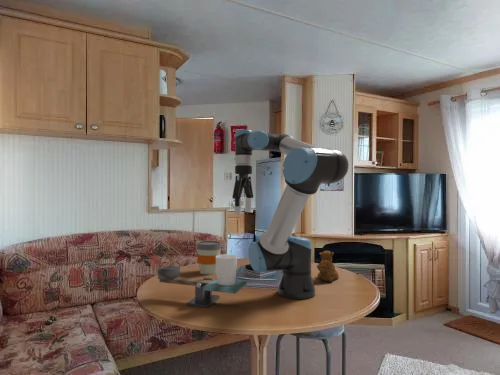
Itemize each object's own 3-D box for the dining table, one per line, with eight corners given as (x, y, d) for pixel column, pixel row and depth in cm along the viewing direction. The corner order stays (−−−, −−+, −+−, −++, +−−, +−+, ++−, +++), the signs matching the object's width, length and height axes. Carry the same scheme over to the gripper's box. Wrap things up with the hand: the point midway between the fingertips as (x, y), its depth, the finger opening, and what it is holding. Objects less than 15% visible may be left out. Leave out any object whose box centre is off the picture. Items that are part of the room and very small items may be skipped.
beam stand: (219, 298, 139) (219, 277, 139) (206, 307, 127) (206, 285, 127) (201, 296, 141) (201, 275, 141) (186, 305, 130) (186, 283, 130)
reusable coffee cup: (200, 269, 188) (200, 240, 188) (223, 269, 186) (223, 241, 186) (193, 274, 176) (193, 244, 176) (218, 275, 174) (218, 245, 174)
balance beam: (246, 284, 135) (246, 270, 135) (235, 293, 124) (235, 277, 124) (170, 277, 146) (170, 263, 146) (153, 284, 134) (153, 270, 134)
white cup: (239, 281, 135) (239, 254, 135) (234, 286, 127) (234, 258, 127) (219, 280, 136) (219, 253, 136) (212, 285, 128) (212, 257, 128)
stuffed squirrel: (338, 276, 174) (338, 249, 174) (337, 284, 160) (337, 255, 160) (318, 275, 176) (318, 248, 176) (315, 282, 163) (315, 253, 163)
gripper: (244, 166, 171) (244, 211, 171) (224, 163, 147) (224, 214, 147) (259, 166, 169) (259, 211, 169) (242, 163, 145) (241, 215, 145)
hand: (243, 213), depth 158 cm, fingers open, 13 cm apart
